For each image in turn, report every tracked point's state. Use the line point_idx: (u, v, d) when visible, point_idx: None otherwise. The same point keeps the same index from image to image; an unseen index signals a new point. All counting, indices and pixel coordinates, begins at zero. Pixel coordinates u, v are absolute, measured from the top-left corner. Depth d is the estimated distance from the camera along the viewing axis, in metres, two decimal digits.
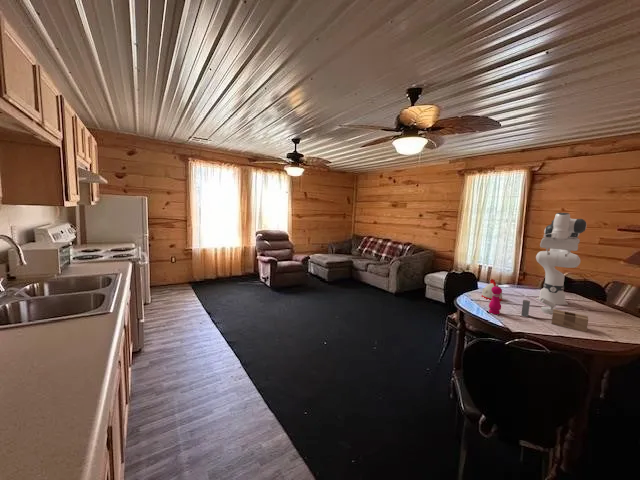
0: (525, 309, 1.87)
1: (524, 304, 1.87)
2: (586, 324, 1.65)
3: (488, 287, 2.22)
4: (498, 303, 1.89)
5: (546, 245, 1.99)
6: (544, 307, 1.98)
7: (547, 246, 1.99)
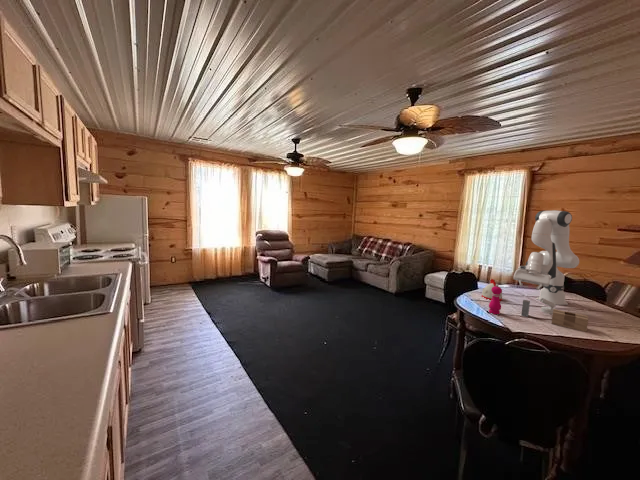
0: (525, 309, 1.87)
1: (524, 304, 1.87)
2: (586, 324, 1.65)
3: (488, 287, 2.22)
4: (498, 303, 1.89)
5: (520, 276, 2.00)
6: (544, 307, 1.98)
7: (520, 277, 2.00)
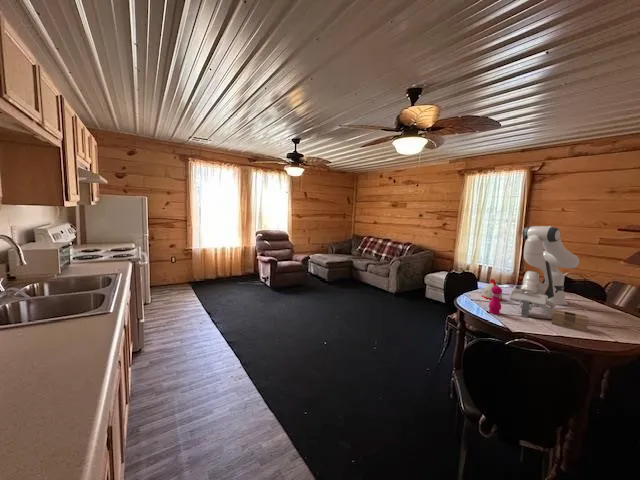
0: (525, 309, 1.87)
1: (524, 304, 1.87)
2: (586, 324, 1.65)
3: (488, 287, 2.22)
4: (498, 303, 1.89)
5: (515, 296, 1.94)
6: (544, 307, 1.98)
7: (516, 297, 1.93)
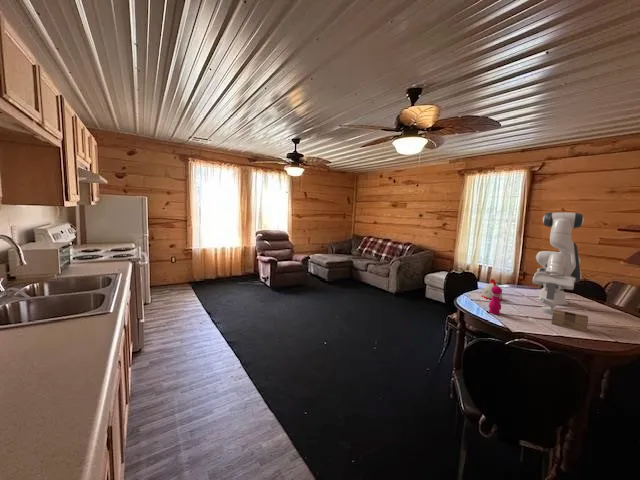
0: (551, 292, 1.74)
1: (550, 286, 1.75)
2: (586, 324, 1.65)
3: (488, 287, 2.22)
4: (498, 303, 1.89)
5: (539, 279, 1.82)
6: (544, 307, 1.98)
7: (540, 280, 1.81)
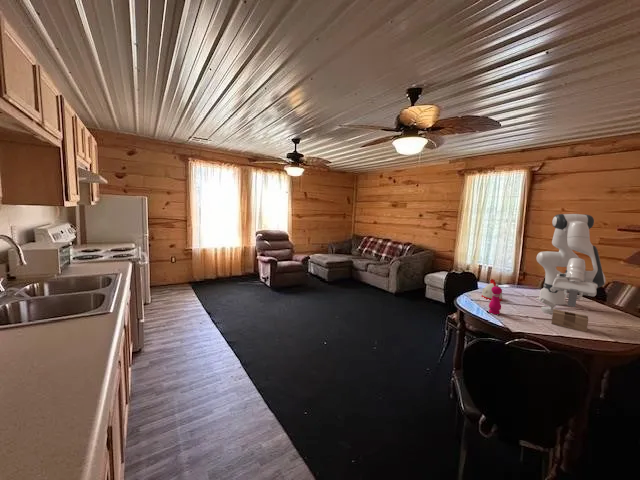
0: (573, 298, 1.70)
1: (571, 293, 1.70)
2: (586, 324, 1.65)
3: (488, 287, 2.22)
4: (498, 303, 1.89)
5: (560, 285, 1.77)
6: (544, 307, 1.98)
7: (561, 286, 1.76)
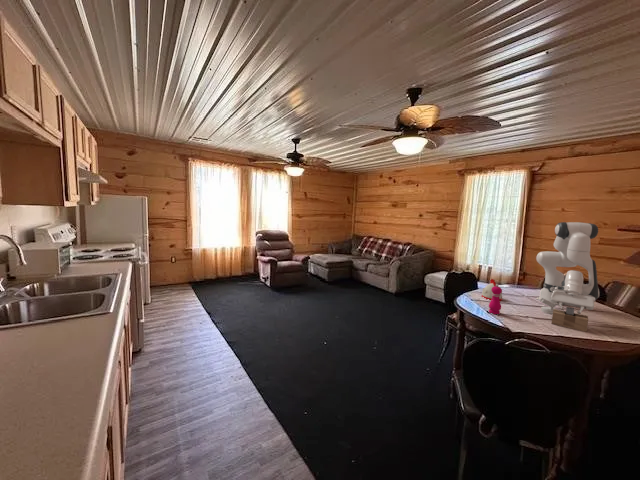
0: None
1: (568, 312, 1.72)
2: (586, 324, 1.65)
3: (488, 287, 2.22)
4: (498, 303, 1.89)
5: (558, 298, 1.78)
6: (544, 307, 1.98)
7: (559, 299, 1.78)
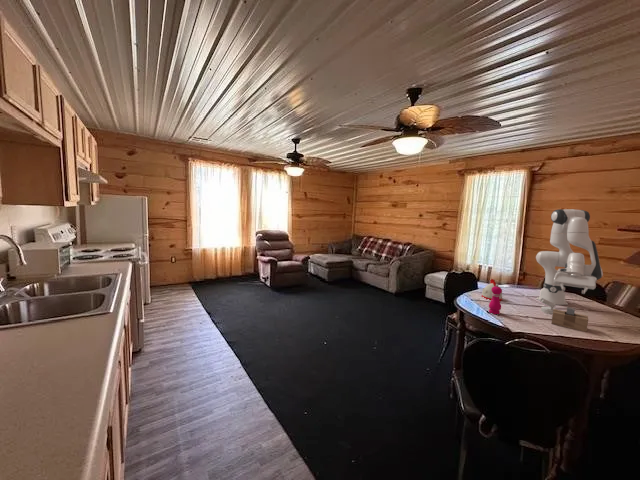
0: None
1: (568, 312, 1.72)
2: (586, 324, 1.65)
3: (488, 287, 2.22)
4: (498, 303, 1.89)
5: (561, 279, 1.86)
6: (544, 307, 1.98)
7: (562, 280, 1.85)
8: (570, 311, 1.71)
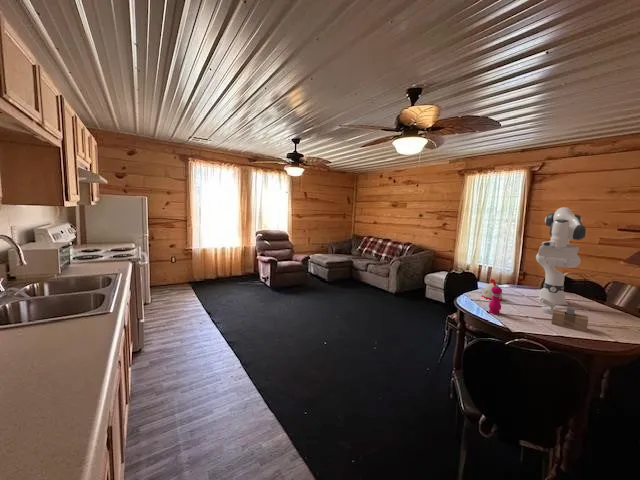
0: None
1: (568, 312, 1.72)
2: (586, 324, 1.65)
3: (488, 287, 2.22)
4: (498, 303, 1.89)
5: (544, 253, 1.92)
6: (544, 307, 1.98)
7: (545, 254, 1.92)
8: (570, 311, 1.71)
